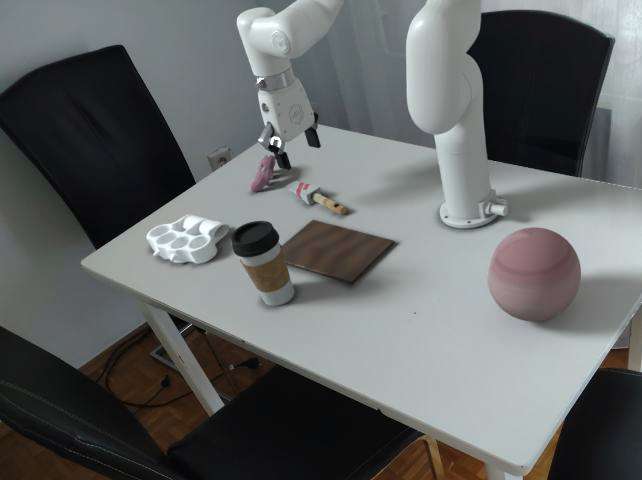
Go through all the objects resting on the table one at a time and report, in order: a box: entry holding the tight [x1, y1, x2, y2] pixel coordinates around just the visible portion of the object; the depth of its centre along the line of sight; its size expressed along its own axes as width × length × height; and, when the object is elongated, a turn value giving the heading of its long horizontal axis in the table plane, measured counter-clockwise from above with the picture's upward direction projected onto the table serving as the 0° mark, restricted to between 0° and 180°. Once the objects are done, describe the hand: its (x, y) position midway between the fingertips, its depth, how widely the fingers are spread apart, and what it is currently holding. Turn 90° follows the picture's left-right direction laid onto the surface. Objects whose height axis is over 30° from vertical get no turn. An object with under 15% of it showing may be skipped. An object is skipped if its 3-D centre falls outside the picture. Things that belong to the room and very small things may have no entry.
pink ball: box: [486, 226, 582, 322], centre depth 103 cm, size 15×15×15 cm
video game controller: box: [249, 154, 277, 193], centre depth 153 cm, size 10×5×7 cm, turn 179°
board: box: [281, 219, 395, 286], centre depth 129 cm, size 22×14×1 cm, turn 57°
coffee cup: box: [230, 220, 295, 307], centre depth 116 cm, size 8×8×15 cm
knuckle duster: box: [146, 214, 230, 265], centre depth 138 cm, size 3×18×15 cm
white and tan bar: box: [285, 180, 347, 216], centre depth 144 cm, size 4×3×20 cm
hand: (300, 157), depth 137 cm, fingers open, 9 cm apart
